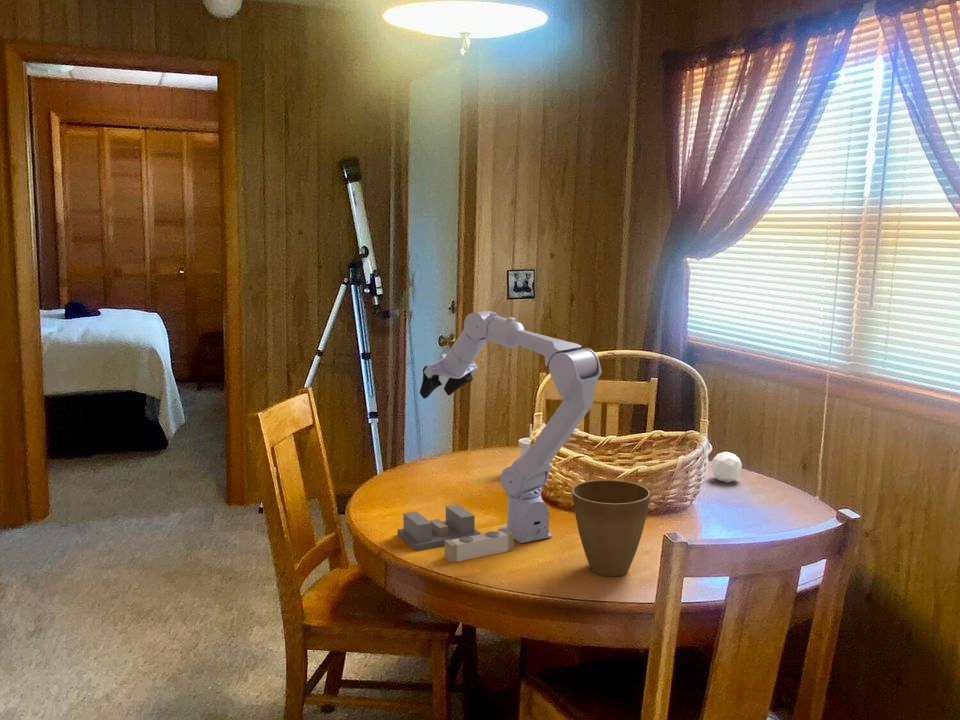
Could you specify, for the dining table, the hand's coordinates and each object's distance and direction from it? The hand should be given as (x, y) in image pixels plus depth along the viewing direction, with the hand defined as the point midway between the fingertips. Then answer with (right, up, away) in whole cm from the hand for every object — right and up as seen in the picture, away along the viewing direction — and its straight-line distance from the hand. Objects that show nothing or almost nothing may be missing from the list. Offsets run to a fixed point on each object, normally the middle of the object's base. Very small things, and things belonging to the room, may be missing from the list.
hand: (434, 393), depth 198 cm
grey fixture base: (+2, -30, -15) cm, 34 cm away
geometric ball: (+75, -24, +25) cm, 82 cm away
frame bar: (+10, -32, -24) cm, 41 cm away
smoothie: (+24, -23, +27) cm, 43 cm away
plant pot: (+36, -33, -31) cm, 58 cm away
